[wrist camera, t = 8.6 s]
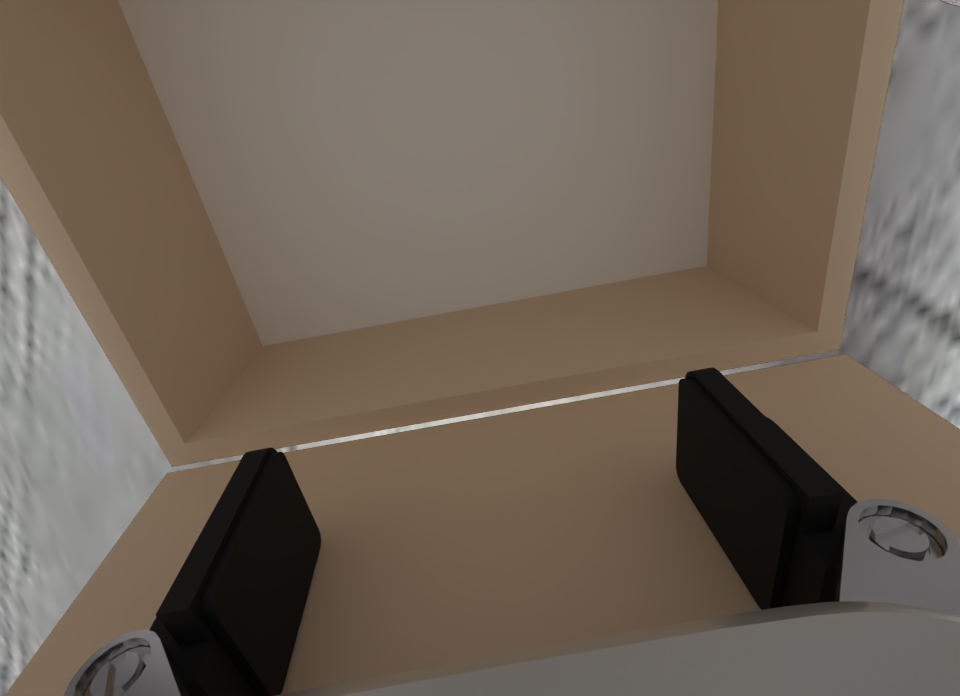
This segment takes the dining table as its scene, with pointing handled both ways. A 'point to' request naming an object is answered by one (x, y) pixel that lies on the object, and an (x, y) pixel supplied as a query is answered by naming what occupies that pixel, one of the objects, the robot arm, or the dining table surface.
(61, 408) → the dining table surface
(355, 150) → the mailer box
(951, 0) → the cup
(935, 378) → the dining table surface
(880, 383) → the lid
